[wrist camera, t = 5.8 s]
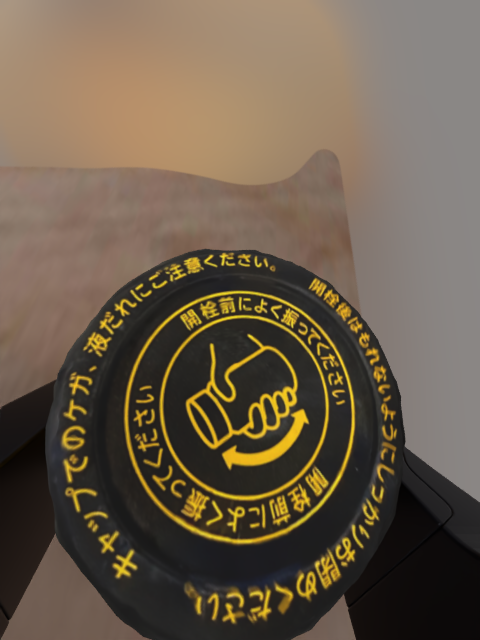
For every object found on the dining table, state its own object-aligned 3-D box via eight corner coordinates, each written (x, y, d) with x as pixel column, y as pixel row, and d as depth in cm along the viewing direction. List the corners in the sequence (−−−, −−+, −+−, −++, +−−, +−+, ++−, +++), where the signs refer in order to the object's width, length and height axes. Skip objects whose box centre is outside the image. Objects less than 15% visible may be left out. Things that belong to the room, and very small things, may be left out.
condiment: (176, 328, 15) (141, 139, 4) (293, 374, 16) (535, 321, 5) (119, 446, 13) (-417, 815, 1) (261, 497, 13) (646, 1034, 2)
